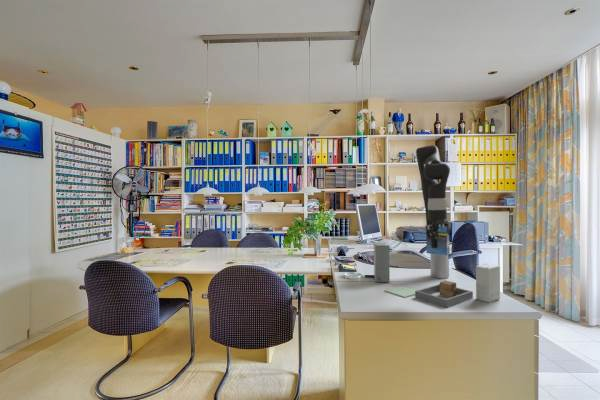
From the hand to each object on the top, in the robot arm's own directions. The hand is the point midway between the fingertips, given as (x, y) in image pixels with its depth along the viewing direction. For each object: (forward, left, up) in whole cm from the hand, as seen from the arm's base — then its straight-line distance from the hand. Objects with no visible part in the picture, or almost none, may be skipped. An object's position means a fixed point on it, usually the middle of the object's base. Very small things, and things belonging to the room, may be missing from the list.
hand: (437, 247), depth 129 cm
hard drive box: (-6, -38, -23) cm, 45 cm away
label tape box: (0, 0, -3) cm, 3 cm away
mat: (+4, -16, -23) cm, 28 cm away
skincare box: (-18, +12, -23) cm, 32 cm away
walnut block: (-9, -1, -23) cm, 25 cm away
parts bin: (-4, 0, -23) cm, 24 cm away
